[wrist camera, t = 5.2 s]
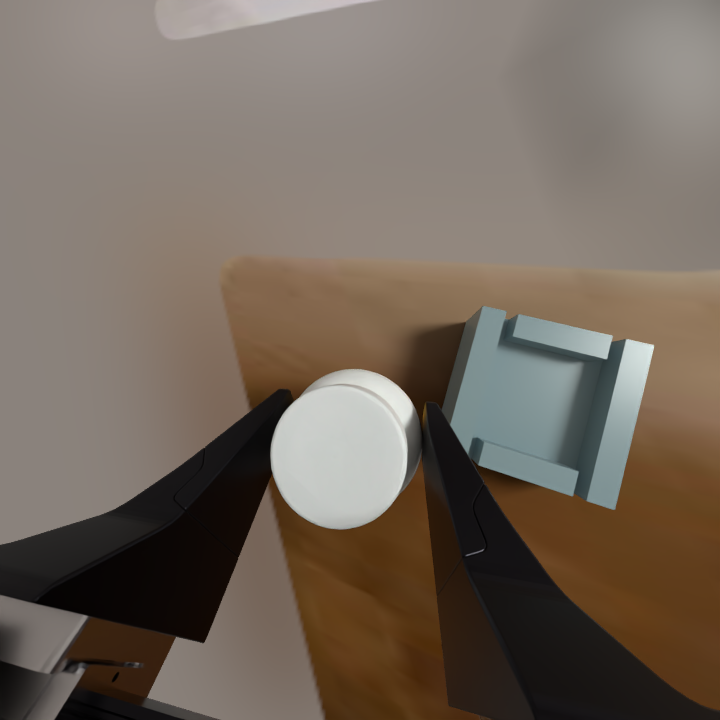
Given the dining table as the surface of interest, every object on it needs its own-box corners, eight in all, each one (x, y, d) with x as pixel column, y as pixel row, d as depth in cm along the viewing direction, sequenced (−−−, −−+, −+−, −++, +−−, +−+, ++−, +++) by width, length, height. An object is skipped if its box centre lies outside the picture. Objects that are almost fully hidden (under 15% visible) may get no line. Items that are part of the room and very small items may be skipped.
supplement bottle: (364, 479, 17) (317, 602, 7) (313, 411, 17) (212, 439, 8) (431, 425, 16) (476, 478, 7) (376, 358, 17) (348, 324, 8)
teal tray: (566, 482, 20) (614, 510, 15) (433, 439, 22) (442, 453, 17) (598, 354, 20) (654, 345, 16) (466, 321, 22) (482, 305, 18)
